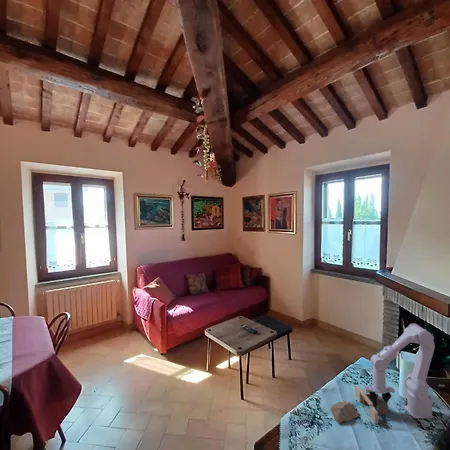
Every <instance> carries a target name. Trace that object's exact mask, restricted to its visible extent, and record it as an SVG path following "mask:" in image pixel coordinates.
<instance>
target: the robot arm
mask: <svg viewBox="0 0 450 450" xmlns="http://www.w3.org/2000/svg"><path fill="white" fill-rule="evenodd" d="M434 340H435V336H434V335H433V334H432V333H431V332H430V331H428V330H426V329H425V328H423V327H422V326H420V325H419V324H417V323H409V325H408V326H407V327H405V329H404V331H403V333H402V334H401V335H400V336H399V337H398V338H397V339H396V340H395V341H394V342H393V343H392V345H386V346H383V349H381V350H380V351H378V353H376V354H373V355H372V356H371V358H369V361H370V363H371V364H372V385H371V384H370V385H368V386H364V387H363V392H364V393H365V394H370V396H371V399H372V402H373V405H374V406H375V407H376V406H377V397H378V396H377V395H376V394H381V397H382V398H383V400H384V401H385V402H386V403H387V404H388V403H389V401H390V399H391V398H392V394H395V392H396V390H395V388H394V387H393V386H390V385H389V386H388V385H386V384H387V381H386V378H387V377H386V371H387V370H388V368H389V365H390V363H391V362H392V361H393V360H394V359H395V358H397V357H398V356H399V355H398V352H399V351H401V350H402V349H404V348H405V347H406V346H408V345H409V344H411V343H412V344H419V349H418V351H417V355H416V358H415V363H414V366H413V370H412V372H411V373H408V374H407V377H405V379H404V382H403V383H404V386H405V387H406V394H407V405H403V408H404V409H405V410H406V411H407V412H408V413H409V414H410V415H411V416H412V418H414V419H434V416H433V404H432V400H431V399H430V397H429V396H430V395H429V388H430V387H429V385H428V383H427V381H426V380H427V377H428V373H429V369H430V365H431V363H432V358H433V355H434V352H435V347H436V346H435V342H434ZM391 393H392V394H391Z"/></svg>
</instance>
